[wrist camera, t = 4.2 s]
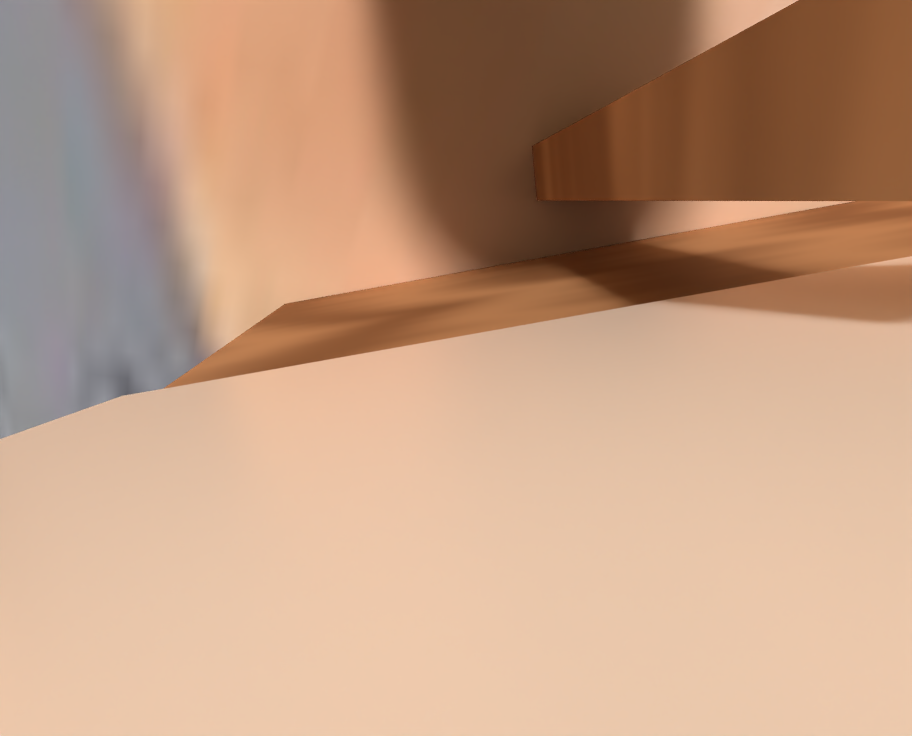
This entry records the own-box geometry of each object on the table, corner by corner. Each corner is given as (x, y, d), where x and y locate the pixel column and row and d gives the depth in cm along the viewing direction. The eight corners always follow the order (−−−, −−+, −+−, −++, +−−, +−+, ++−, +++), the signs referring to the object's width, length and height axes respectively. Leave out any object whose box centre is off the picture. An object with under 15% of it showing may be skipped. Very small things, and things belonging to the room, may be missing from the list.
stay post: (536, 200, 13) (1108, 202, 2) (532, 146, 13) (1287, -269, 1) (633, 182, 13) (1775, 83, 2) (632, 127, 13) (2217, -447, 1)
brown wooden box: (388, 623, 19) (363, 859, 12) (284, 303, 14) (135, 407, 7) (827, 550, 19) (1053, 751, 12) (899, 193, 14) (1388, 186, 7)
